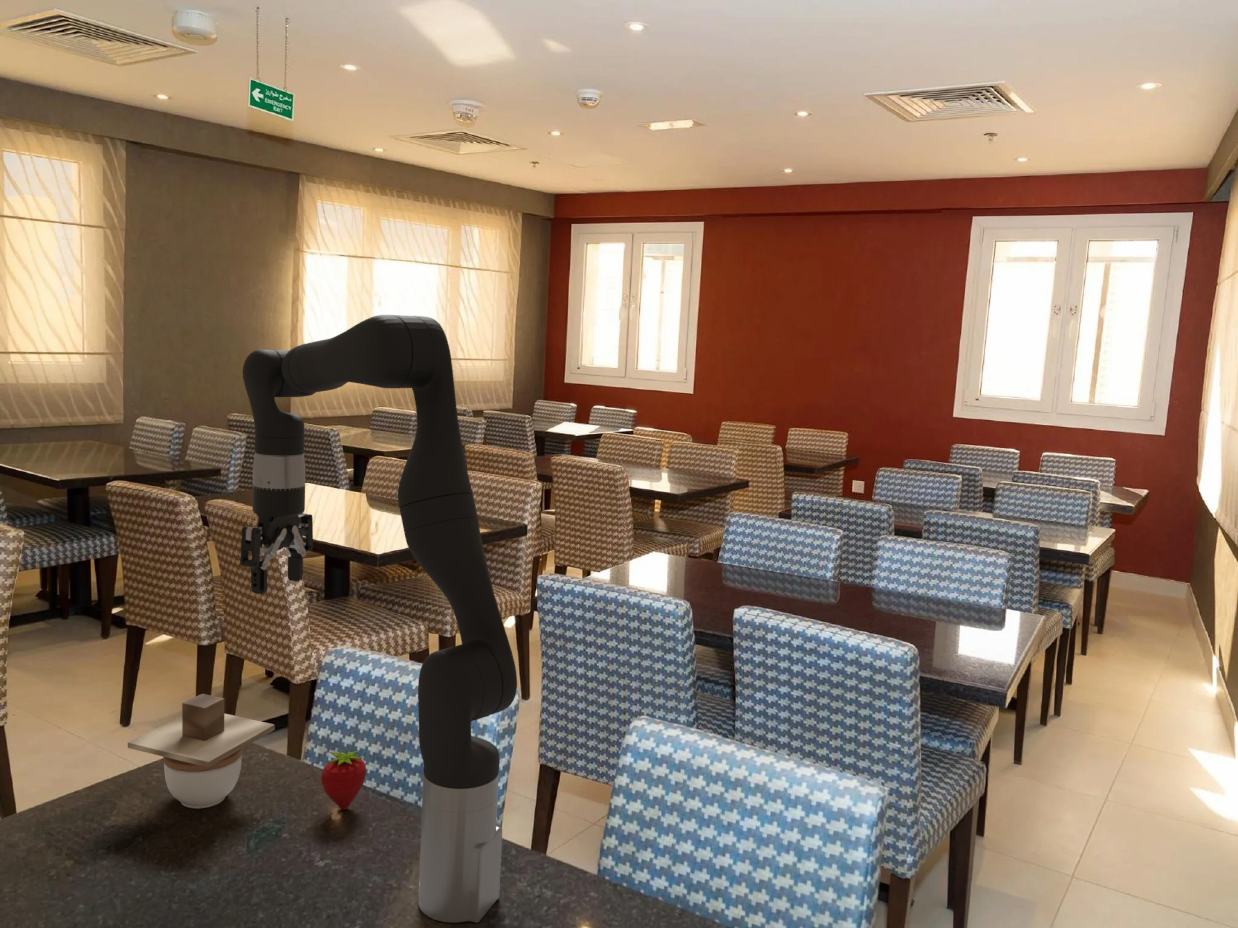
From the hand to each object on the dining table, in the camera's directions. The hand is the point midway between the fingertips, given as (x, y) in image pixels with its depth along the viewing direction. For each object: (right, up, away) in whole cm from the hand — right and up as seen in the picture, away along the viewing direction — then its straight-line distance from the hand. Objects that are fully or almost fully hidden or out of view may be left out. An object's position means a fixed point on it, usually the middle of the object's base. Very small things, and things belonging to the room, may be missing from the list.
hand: (277, 586), depth 149 cm
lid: (-8, -21, -7) cm, 24 cm away
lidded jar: (-9, -31, -6) cm, 33 cm away
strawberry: (+12, -32, -6) cm, 35 cm away
